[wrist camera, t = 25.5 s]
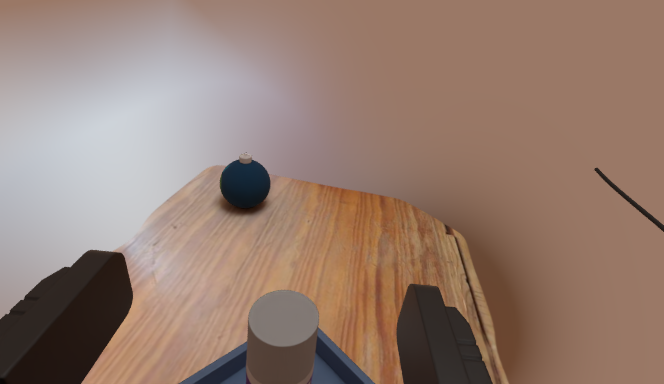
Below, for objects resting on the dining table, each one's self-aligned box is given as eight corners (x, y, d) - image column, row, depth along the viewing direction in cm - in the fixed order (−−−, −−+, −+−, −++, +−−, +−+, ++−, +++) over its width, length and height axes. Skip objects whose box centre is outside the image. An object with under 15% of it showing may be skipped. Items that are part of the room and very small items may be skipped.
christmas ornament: (237, 188, 66) (237, 138, 61) (277, 199, 64) (280, 149, 59) (210, 208, 59) (207, 154, 54) (254, 222, 57) (255, 168, 52)
